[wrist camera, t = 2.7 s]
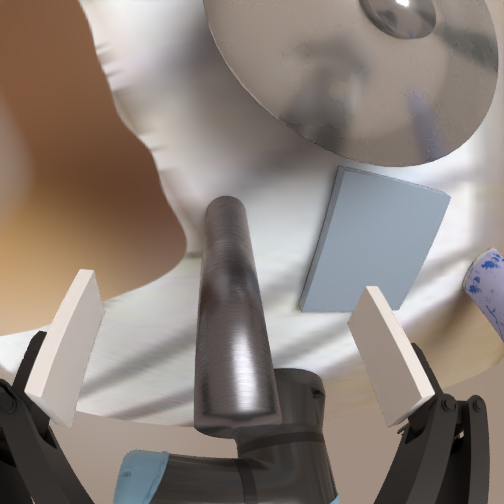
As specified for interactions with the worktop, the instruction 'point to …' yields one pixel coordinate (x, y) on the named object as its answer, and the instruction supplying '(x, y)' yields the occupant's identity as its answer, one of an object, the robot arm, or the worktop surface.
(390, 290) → the plate
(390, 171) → the worktop surface
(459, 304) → the worktop surface
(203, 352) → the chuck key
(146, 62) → the worktop surface
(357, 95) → the disc
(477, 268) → the aerosol can
